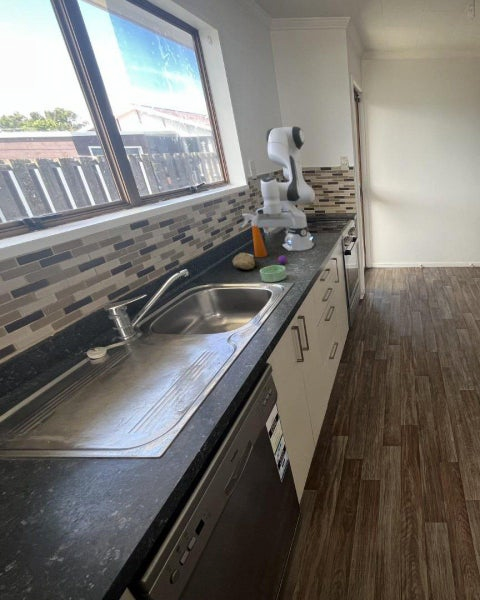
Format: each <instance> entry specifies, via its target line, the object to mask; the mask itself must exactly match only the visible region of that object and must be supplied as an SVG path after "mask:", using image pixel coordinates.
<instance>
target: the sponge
mask: <svg viewBox="0 0 480 600" xmlns="http://www.w3.org/2000/svg"><path fill="white" fill-rule="evenodd" d="M231 263H232V266H233V267H235V268H237V269H240V270H246V271H247V270H248V271H249V270H251V269H254V268H255V266H256V262H255V255H253V254H251V253H247V252H239V253H238V254H236V255H235V256H234V257H233V258H232V261H231Z"/></svg>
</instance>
